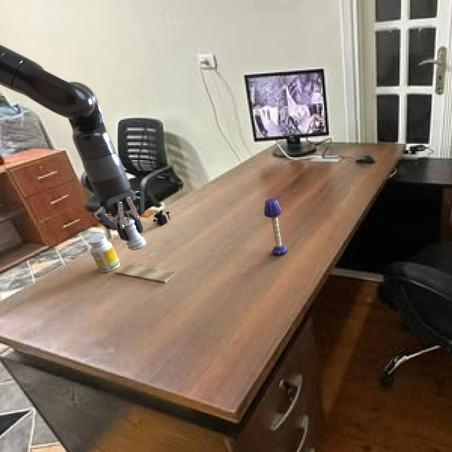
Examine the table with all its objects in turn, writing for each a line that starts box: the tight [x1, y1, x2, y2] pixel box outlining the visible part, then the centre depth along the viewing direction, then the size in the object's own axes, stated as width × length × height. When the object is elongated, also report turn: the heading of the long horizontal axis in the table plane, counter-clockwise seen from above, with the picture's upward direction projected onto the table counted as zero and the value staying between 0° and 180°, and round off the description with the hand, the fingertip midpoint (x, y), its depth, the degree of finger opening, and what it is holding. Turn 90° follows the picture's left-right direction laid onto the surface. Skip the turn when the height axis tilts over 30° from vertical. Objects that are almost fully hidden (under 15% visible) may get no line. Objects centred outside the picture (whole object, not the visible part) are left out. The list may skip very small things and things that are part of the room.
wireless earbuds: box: [152, 209, 171, 227], centre depth 122 cm, size 7×2×5 cm, turn 156°
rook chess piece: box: [124, 216, 147, 251], centre depth 90 cm, size 4×4×8 cm
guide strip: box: [115, 263, 177, 284], centre depth 97 cm, size 18×4×1 cm, turn 70°
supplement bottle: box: [88, 235, 121, 273], centre depth 99 cm, size 5×5×10 cm
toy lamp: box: [263, 198, 288, 257], centre depth 96 cm, size 5×5×17 cm
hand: (133, 236), depth 90 cm, fingers closed on rook chess piece, 3 cm apart
